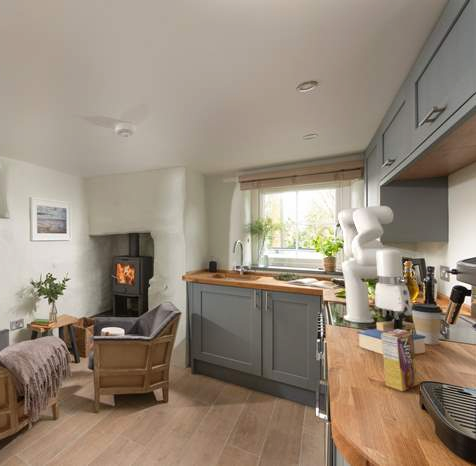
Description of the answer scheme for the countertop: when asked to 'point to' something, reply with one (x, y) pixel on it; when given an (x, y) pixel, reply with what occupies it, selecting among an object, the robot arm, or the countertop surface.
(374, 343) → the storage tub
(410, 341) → the candy box
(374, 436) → the countertop surface
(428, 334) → the coffee cup
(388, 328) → the wooden block
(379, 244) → the robot arm
